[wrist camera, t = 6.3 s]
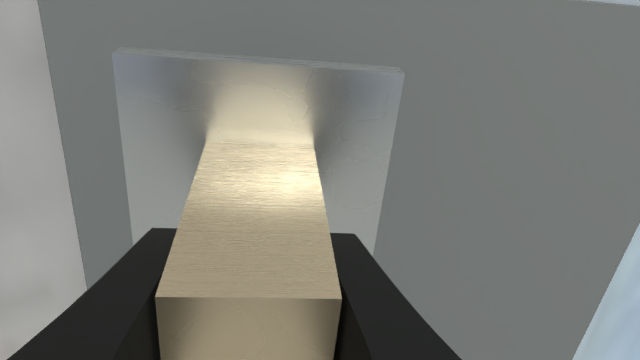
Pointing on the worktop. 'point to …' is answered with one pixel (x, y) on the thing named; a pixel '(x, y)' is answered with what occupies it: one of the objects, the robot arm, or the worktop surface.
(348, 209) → the beige blocky piece
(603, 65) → the mat
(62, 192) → the worktop surface
